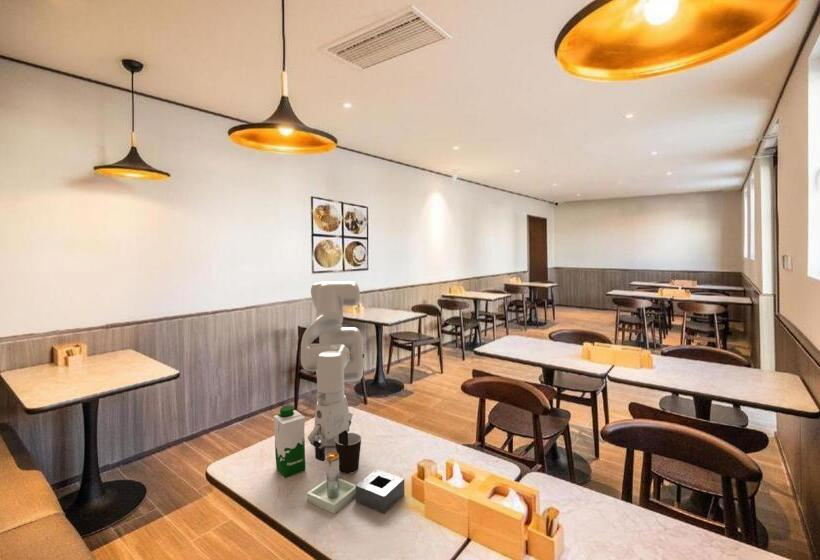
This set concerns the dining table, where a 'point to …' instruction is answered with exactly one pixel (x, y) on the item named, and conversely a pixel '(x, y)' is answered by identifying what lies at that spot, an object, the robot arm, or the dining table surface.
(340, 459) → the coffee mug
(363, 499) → the grey square box
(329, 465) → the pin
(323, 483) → the tray
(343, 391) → the robot arm
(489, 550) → the dining table surface
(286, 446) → the milk carton
